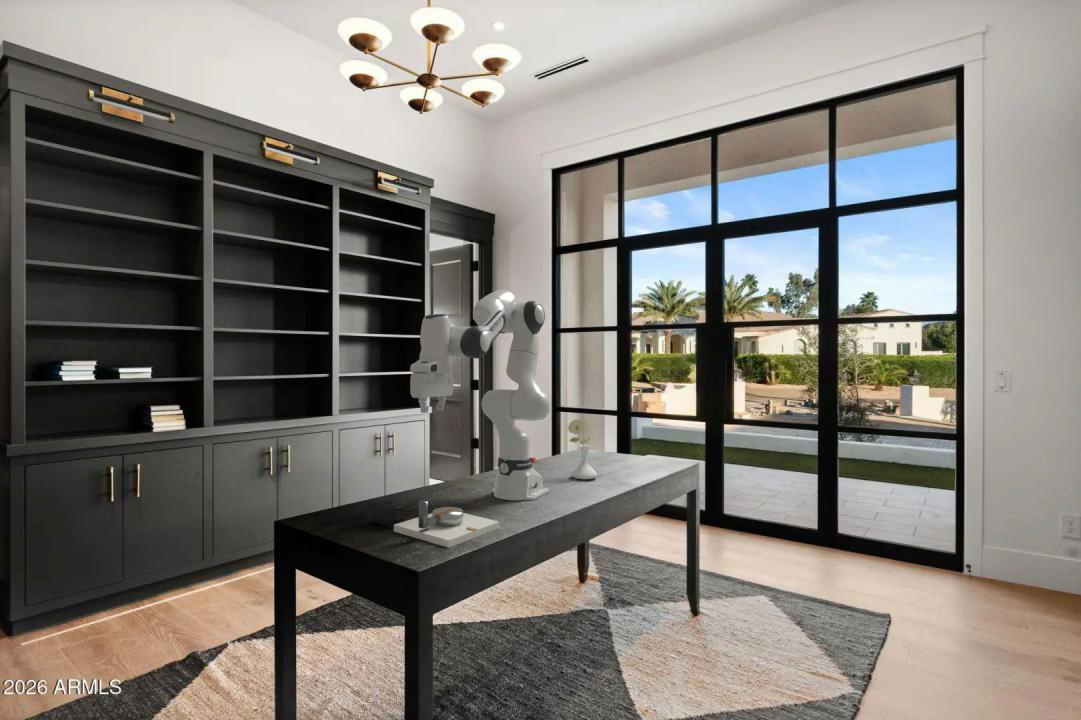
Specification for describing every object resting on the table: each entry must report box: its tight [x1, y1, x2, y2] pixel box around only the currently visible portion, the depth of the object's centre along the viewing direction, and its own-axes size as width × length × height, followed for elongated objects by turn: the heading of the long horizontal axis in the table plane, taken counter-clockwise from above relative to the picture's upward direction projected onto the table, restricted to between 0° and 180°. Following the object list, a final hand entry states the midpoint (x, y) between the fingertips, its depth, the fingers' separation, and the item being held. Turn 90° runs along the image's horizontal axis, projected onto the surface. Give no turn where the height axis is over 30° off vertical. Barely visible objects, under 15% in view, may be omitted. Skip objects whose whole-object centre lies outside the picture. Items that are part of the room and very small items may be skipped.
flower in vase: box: [567, 418, 598, 480], centre depth 250 cm, size 13×11×25 cm
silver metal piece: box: [418, 500, 464, 528], centre depth 174 cm, size 16×9×8 cm, turn 145°
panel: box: [393, 512, 500, 549], centre depth 177 cm, size 22×22×2 cm
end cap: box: [366, 499, 406, 529], centre depth 181 cm, size 10×7×7 cm
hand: (432, 411), depth 181 cm, fingers open, 8 cm apart
